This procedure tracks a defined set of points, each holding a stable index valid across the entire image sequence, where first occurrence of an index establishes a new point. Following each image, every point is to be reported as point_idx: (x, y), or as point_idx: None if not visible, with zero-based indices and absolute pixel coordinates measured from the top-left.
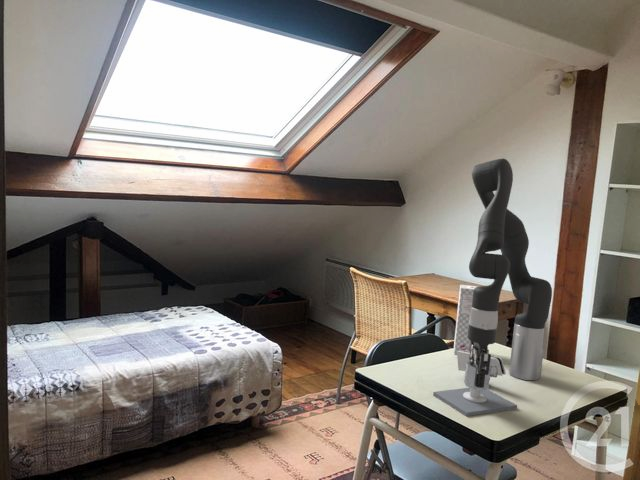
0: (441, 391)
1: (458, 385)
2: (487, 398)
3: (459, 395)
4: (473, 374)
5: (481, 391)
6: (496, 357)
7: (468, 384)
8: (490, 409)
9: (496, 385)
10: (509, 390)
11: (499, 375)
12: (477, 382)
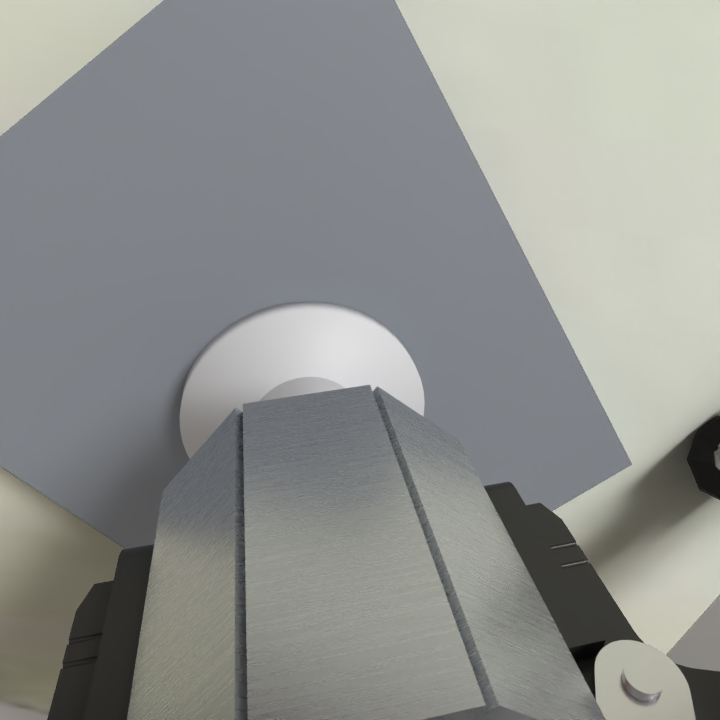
0: (385, 24)
1: (696, 265)
2: None
3: (326, 265)
4: (150, 669)
5: (505, 463)
6: None
7: (211, 455)
8: (89, 521)
9: (701, 534)
10: (616, 596)
11: None
12: (113, 617)
